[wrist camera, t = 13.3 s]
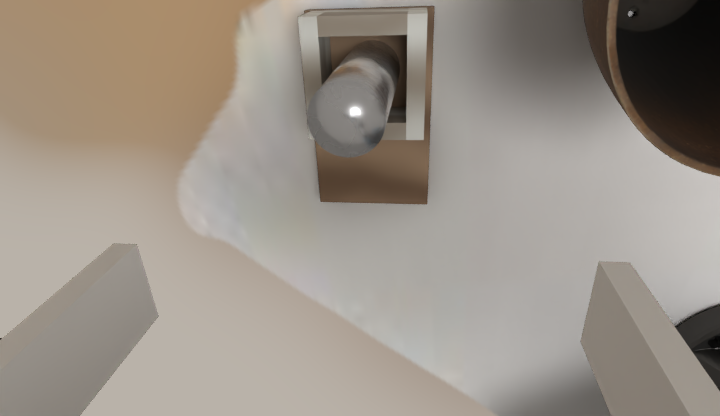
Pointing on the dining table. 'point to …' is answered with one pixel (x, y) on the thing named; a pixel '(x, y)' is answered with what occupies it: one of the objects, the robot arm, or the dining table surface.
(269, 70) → the dining table surface
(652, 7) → the plant pot
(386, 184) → the socket board
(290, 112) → the dining table surface
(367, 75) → the pin
